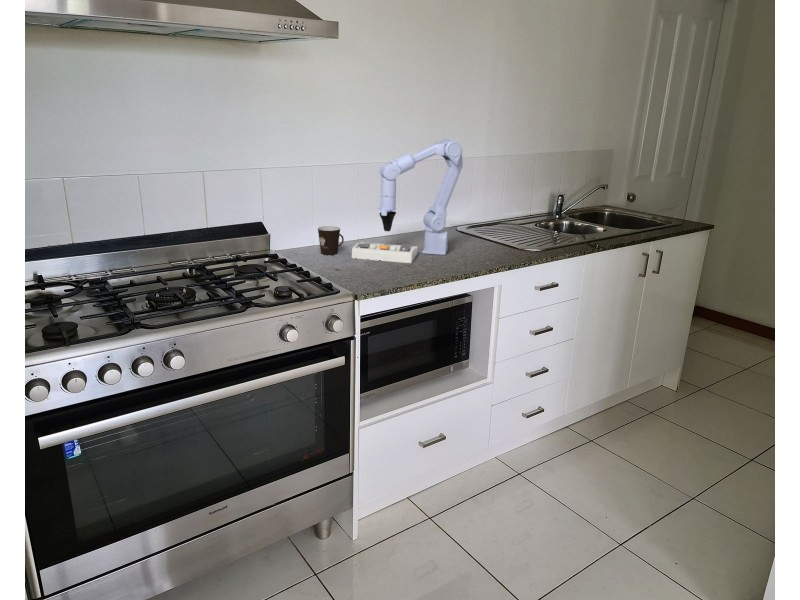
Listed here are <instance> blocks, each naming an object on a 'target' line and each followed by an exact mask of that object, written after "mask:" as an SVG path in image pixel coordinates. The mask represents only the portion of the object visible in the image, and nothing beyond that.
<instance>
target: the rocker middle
mask: <svg viewBox="0 0 800 600" xmlns="http://www.w3.org/2000/svg"><path fill="white" fill-rule="evenodd" d="M378 248H380V249H383V250H388V249H389V248H390V245H378Z"/></svg>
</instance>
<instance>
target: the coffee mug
mask: <svg viewBox="0 0 800 600" xmlns="http://www.w3.org/2000/svg"><path fill="white" fill-rule="evenodd" d="M340 232H341V227H340V226H334V225H322V226H318V227H317V233H318V240H319V241H318V242H319V249H320V254H321V255H322V254H323V255H322V256H328V255H331V256H336V255H338V251H339V247H341V246H342V244H343V243H344V240H345V239H344V236H343V235H342V234H341V233H340ZM340 237H341V243H340V244H339V242H340ZM335 254H336V255H335Z"/></svg>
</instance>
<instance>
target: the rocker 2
mask: <svg viewBox="0 0 800 600" xmlns="http://www.w3.org/2000/svg"><path fill="white" fill-rule="evenodd" d="M400 245H401V247H400V249H399V251H404V252H408V251H409V248H410V246H411V243H401V244H400Z"/></svg>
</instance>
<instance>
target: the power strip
mask: <svg viewBox="0 0 800 600" xmlns="http://www.w3.org/2000/svg"><path fill="white" fill-rule="evenodd" d="M360 243H364V244H370V247H368V248H360V247H358V244H360ZM378 245H390V248H389V249H388V250H383V249H380V248H378ZM401 245H402V244H392V243H391V244H390V243H376V242H375V243H374V242H365V241H364V242H363V241H361V242H357V243H356V244H355V245H353V247H352V250H351V259H355V258H357V259H356V260H367V259H369V260H368V261H379V260H381V261H383V262H393V263H402V264H403V263H405V264H412V263H413V262H414V259H415V258H416V257H417V255H418V250H419V249H418V246H415V245H410V248H409V251H408V252H404V251H399V249H400V247H401Z"/></svg>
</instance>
